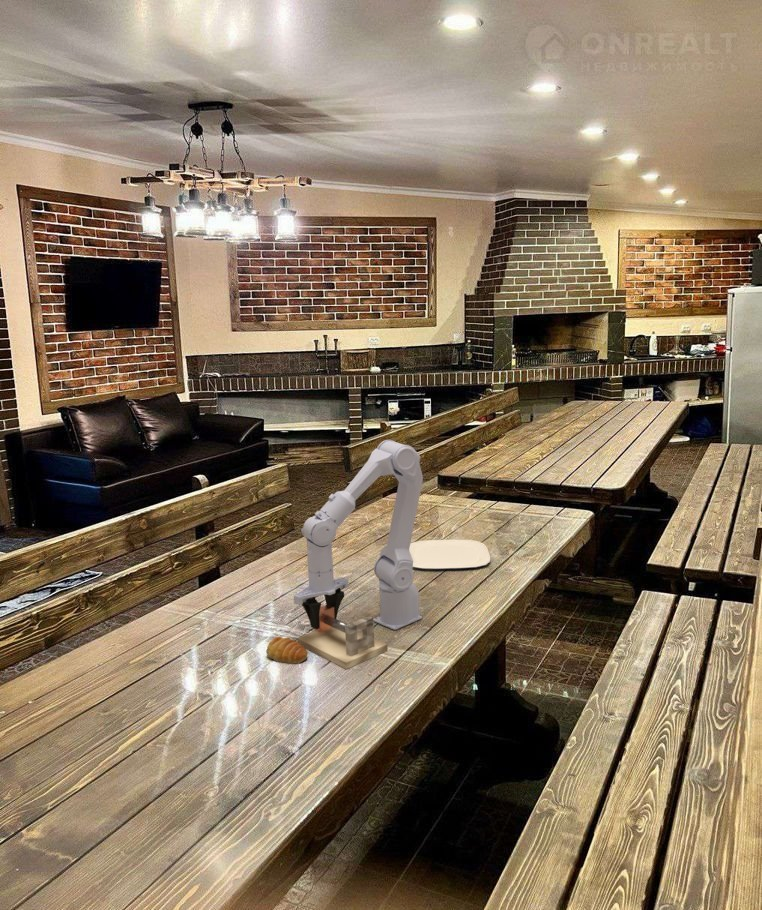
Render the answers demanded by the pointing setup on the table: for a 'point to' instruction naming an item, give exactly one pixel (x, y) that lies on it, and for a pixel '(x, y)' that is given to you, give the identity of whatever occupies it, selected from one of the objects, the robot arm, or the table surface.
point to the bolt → (329, 620)
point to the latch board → (345, 643)
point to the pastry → (286, 650)
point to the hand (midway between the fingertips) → (323, 624)
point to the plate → (449, 554)
